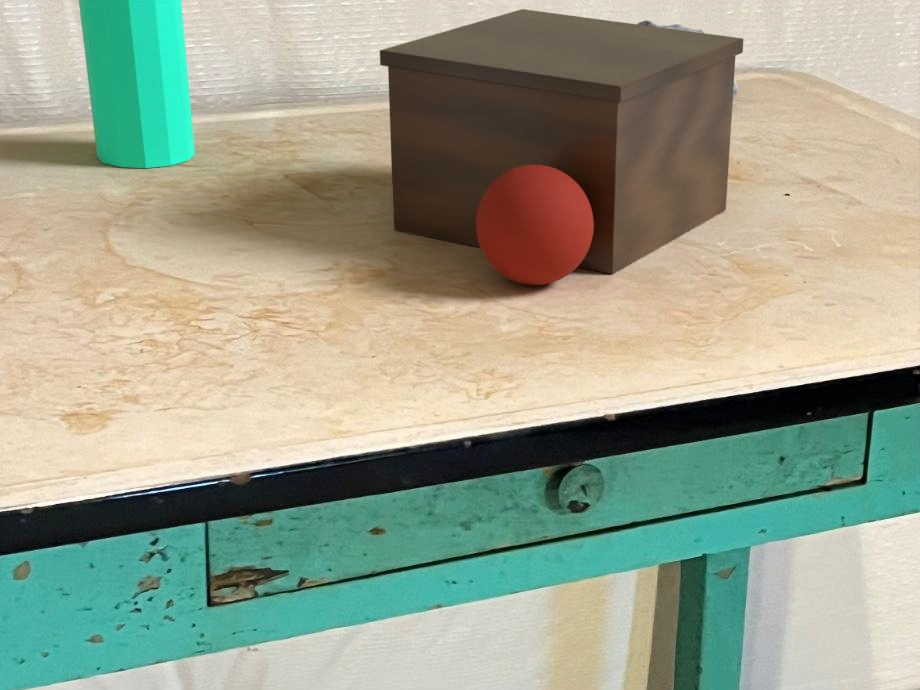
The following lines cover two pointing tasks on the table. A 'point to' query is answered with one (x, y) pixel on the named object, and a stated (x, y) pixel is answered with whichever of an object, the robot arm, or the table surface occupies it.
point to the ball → (534, 224)
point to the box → (564, 124)
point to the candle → (138, 81)
